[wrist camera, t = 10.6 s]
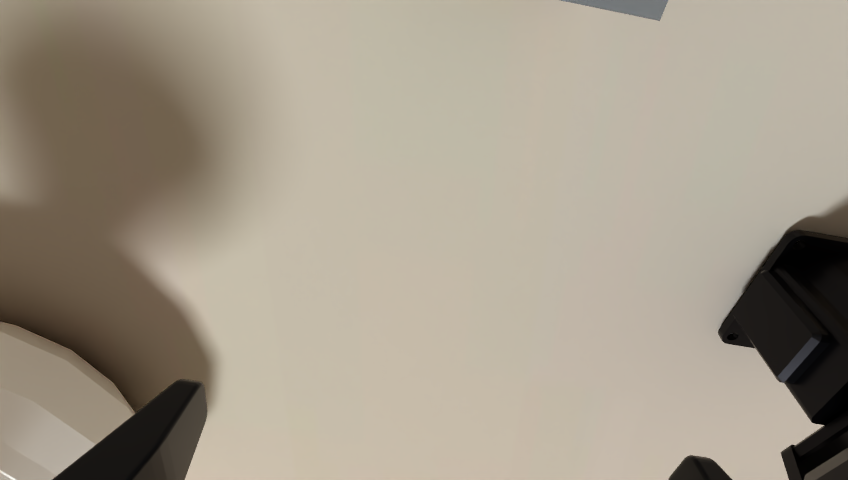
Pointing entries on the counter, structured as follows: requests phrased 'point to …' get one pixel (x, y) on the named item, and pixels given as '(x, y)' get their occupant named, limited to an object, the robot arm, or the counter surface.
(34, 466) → the white vase
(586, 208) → the counter surface
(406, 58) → the counter surface
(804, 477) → the robot arm
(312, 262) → the counter surface
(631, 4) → the grey square block
